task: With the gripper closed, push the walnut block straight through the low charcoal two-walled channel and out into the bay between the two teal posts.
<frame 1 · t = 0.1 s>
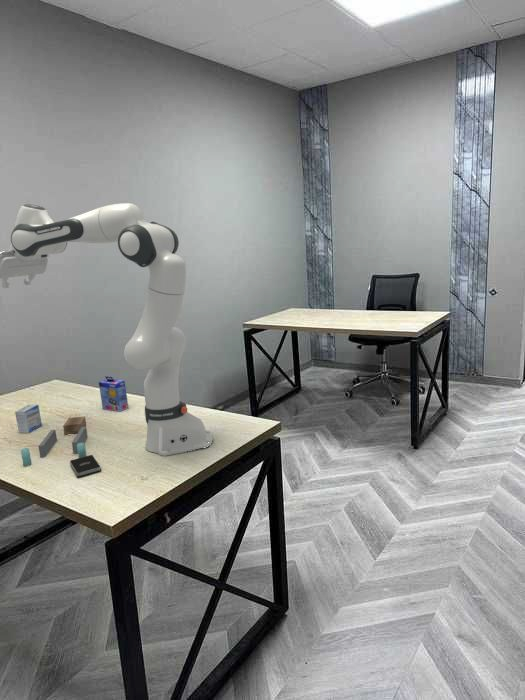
hand: (16, 285, 170), 54 cm above the table, tool tilted 30°, fingers open, 8 cm apart
walnut block: (75, 431, 179), on the table
external hard drive: (85, 470, 148), on the table
ink cartridge box: (115, 409, 201), on the table
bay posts: (55, 461, 154), on the table
medicine box: (30, 429, 183), on the table
channel walls: (65, 446, 165), on the table
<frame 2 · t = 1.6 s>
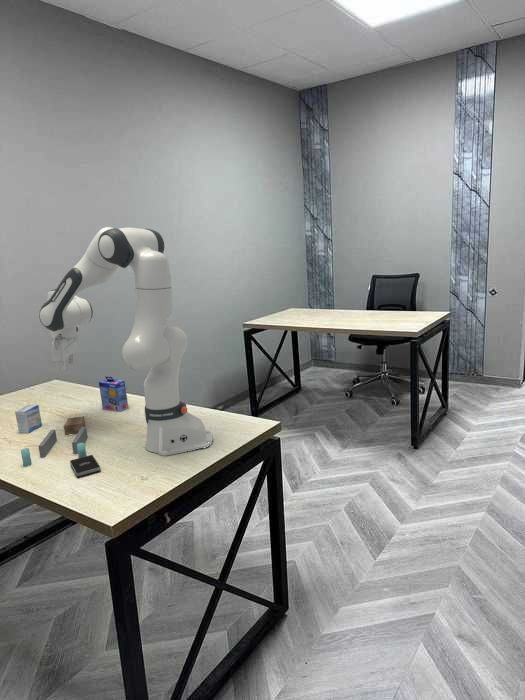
hand: (67, 367, 183), 22 cm above the table, tool pointing down, fingers open, 8 cm apart
nothing on the table moved.
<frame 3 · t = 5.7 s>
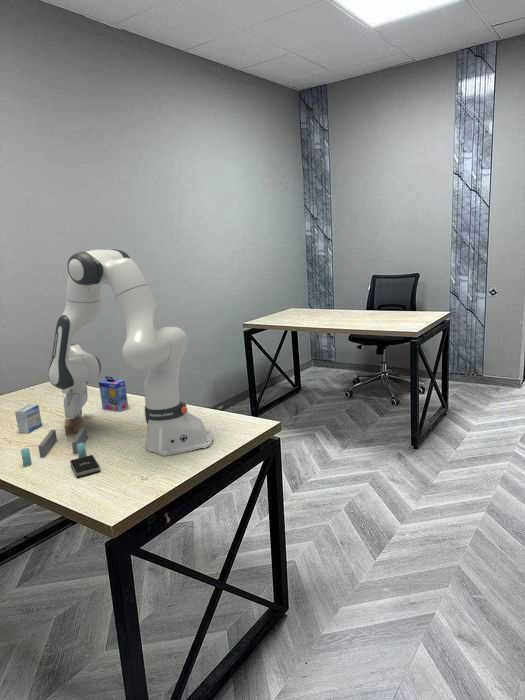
hand: (78, 420, 184), 2 cm above the table, tool pointing down, fingers closed
walnut block: (75, 431, 179), on the table, touching gripper
everything else where it was.
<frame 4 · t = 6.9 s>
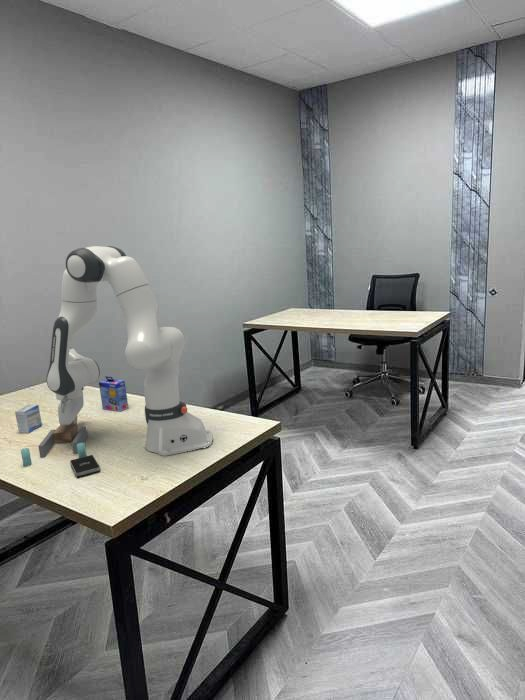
hand: (74, 427, 177), 2 cm above the table, tool pointing down, fingers closed
walnut block: (66, 438, 172), on the table, touching gripper
everything else where it was.
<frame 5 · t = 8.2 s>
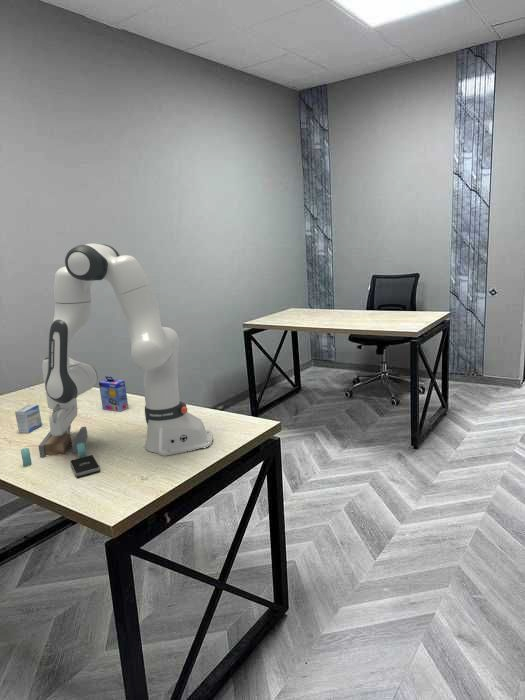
hand: (67, 438, 168), 2 cm above the table, tool pointing down, fingers closed
walnut block: (59, 449, 163), on the table, touching gripper
everything else where it was.
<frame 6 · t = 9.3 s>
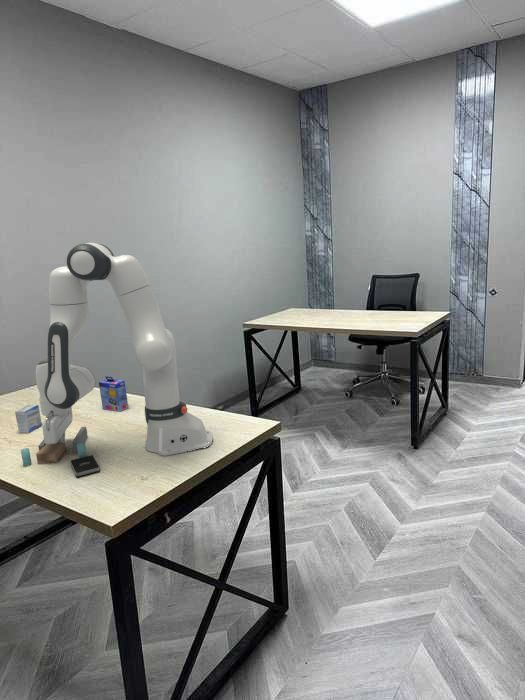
hand: (61, 445, 161), 2 cm above the table, tool pointing down, fingers closed
walnut block: (52, 459, 157), on the table
everything else where it was.
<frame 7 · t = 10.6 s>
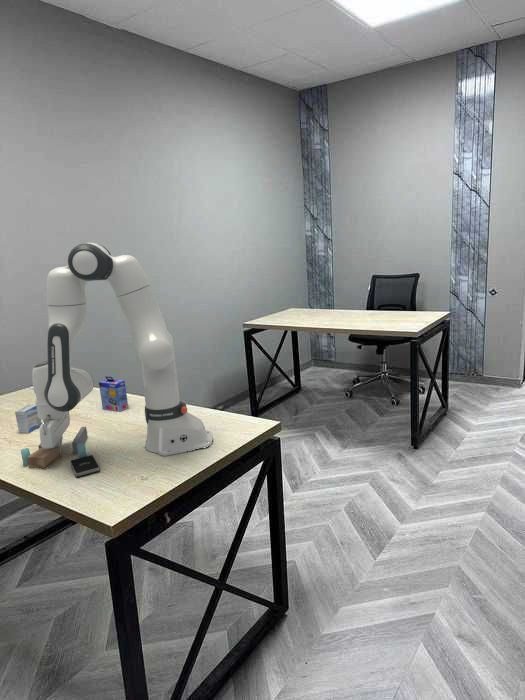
hand: (58, 449, 158), 2 cm above the table, tool pointing down, fingers closed
walnut block: (45, 463, 153), on the table
everything else where it was.
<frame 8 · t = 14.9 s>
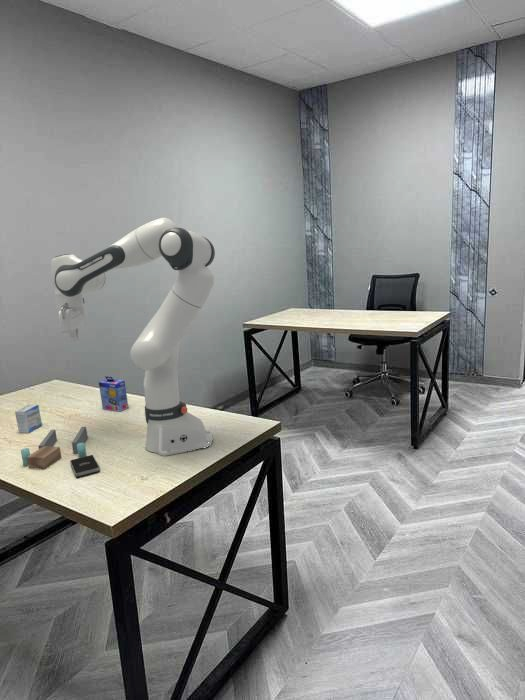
hand: (75, 340, 170), 34 cm above the table, tool pointing down, fingers closed
nothing on the table moved.
at the end: walnut block inside the target area (3.4 cm from its centre), on the table; walnut block tilted 0°; the gripper is holding nothing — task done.
